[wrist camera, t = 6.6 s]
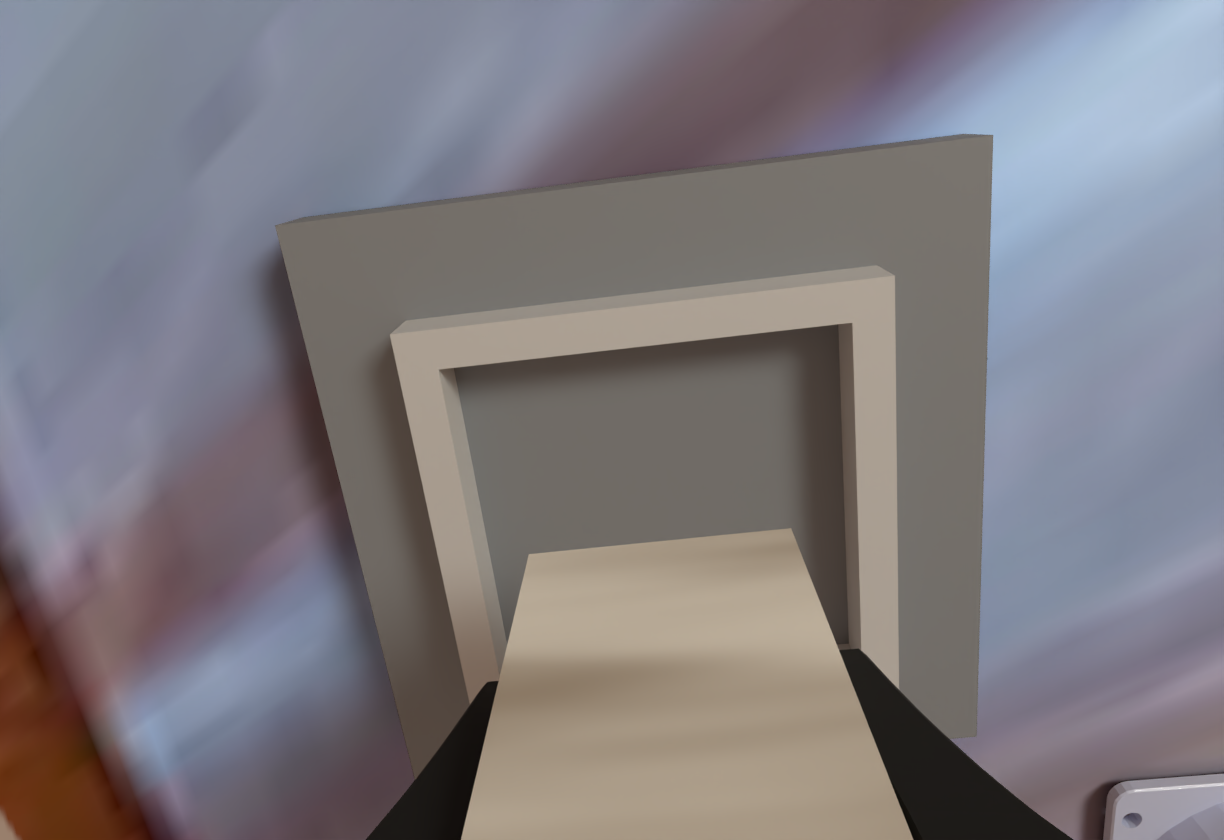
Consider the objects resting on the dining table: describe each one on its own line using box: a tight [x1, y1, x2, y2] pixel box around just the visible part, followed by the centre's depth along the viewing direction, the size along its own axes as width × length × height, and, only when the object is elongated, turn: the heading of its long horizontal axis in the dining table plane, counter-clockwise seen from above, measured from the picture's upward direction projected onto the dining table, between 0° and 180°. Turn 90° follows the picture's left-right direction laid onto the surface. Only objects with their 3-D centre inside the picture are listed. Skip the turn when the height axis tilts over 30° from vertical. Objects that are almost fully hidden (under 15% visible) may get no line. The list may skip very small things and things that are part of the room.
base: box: [275, 134, 993, 779], centre depth 19 cm, size 14×14×3 cm
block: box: [461, 528, 913, 840], centre depth 11 cm, size 4×4×6 cm
